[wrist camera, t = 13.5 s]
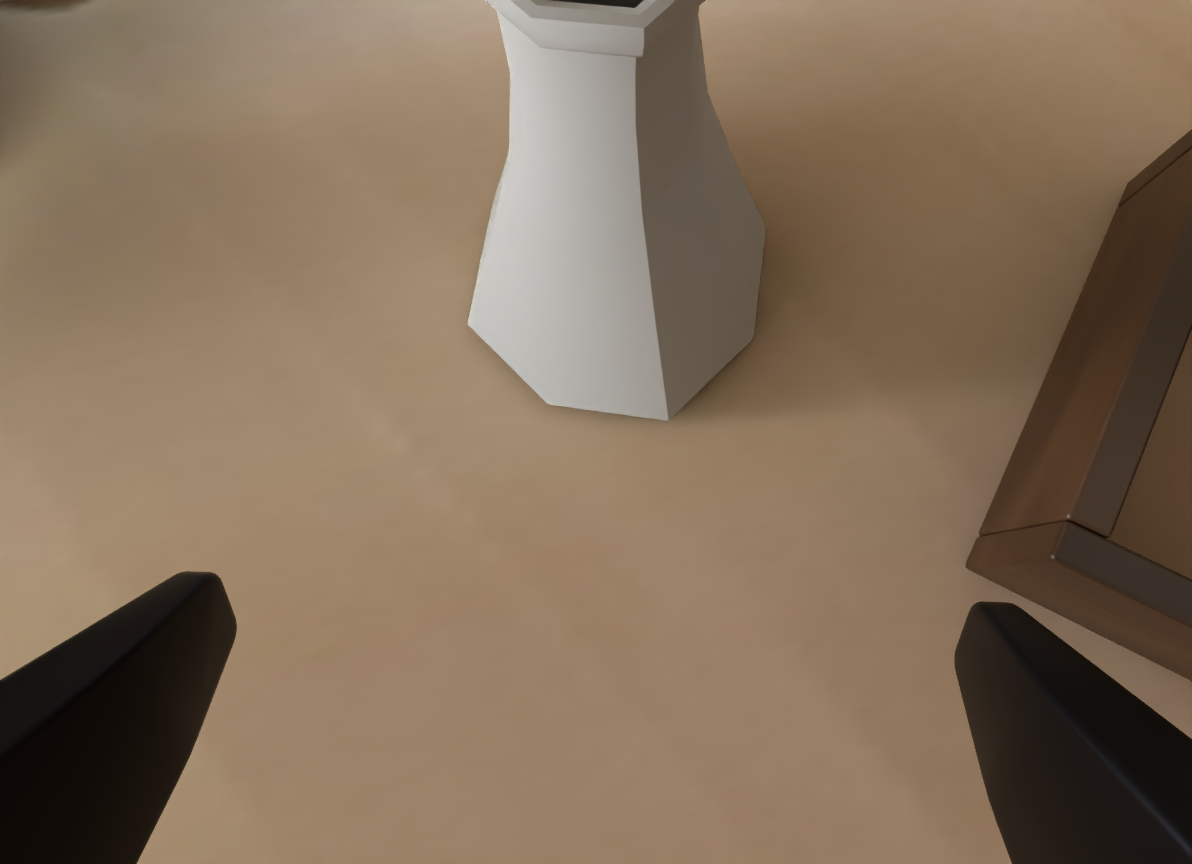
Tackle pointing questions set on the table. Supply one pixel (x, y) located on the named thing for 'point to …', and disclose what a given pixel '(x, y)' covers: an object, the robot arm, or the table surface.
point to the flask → (615, 211)
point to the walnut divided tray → (1105, 433)
